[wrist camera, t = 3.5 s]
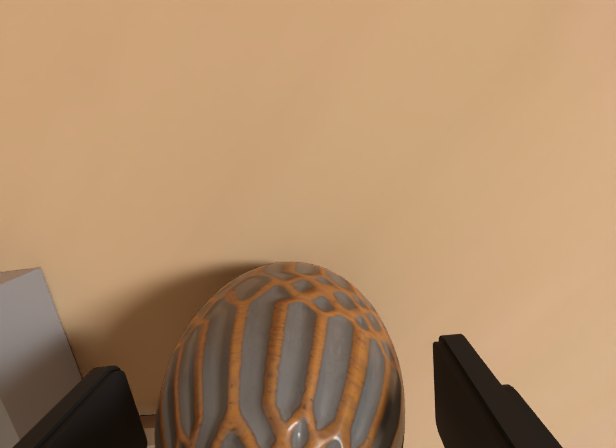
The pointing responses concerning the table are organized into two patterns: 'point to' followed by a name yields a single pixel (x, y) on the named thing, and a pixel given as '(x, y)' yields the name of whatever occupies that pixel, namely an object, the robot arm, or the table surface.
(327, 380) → the vase
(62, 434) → the robot arm
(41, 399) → the button box
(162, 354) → the table surface
